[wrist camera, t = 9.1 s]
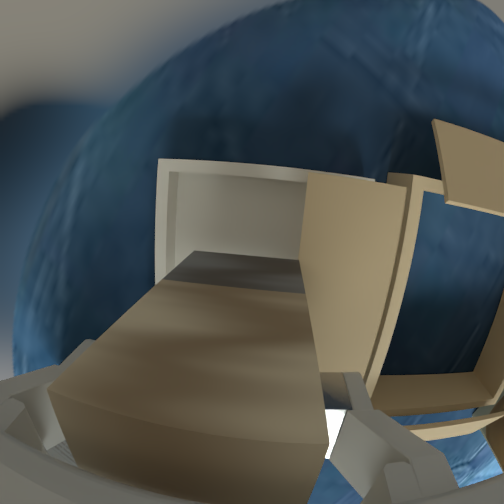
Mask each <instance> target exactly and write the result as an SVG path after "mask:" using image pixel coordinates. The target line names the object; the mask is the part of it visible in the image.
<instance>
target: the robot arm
mask: <svg viewBox="0 0 504 504" xmlns="http://www.w3.org/2000/svg"><path fill="white" fill-rule="evenodd" d="M95 341H96V340H92V339H85V340H84V341H83V342H82V343H81V344H80V345H79V346H78V347H77V348H76V349H75V350H74V351H73V352H72V353H71V354H70V355H69V356H68V357H67V358H66V359H65V360H64V361H63V362H62V363H61V364H60V365H59V366H57V365H52V366H49V367H46V368H42V369H39V370H36V371H32V372H29V373H26V374H22V375H19V376H15V377H12V378H9V379H6V380H2V381H0V504H208V503H202V502H196V501H190V500H185V499H180V498H176V497H171V496H167V495H162V494H158V493H154V492H150V491H146V490H143V489H139V488H136V487H132V486H129V485H126V484H122V483H119V482H116V481H113V480H110V479H107V478H104V477H101V476H99V475H96V474H93V473H90V472H88V471H85V470H83V469H80V468H78V467H75V466H73V465H70V464H68V463H66V462H63V461H61V460H59V459H57V458H54V457H52V456H50V455H49V454H48V452H47V451H46V450H48V449H50V448H52V447H53V446H55V445H57V444H59V443H61V442H62V441H64V440H65V437H64V435H63V433H62V430H61V428H60V425H59V423H58V420H57V417H56V415H55V412H54V409H53V407H52V404H51V401H50V398H49V395H48V392H47V388H48V387H49V386H50V385H51V384H52V383H53V382H54V381H55V380H56V379H57V378H58V377H59V376H60V375H61V374H62V373H63V372H64V371H65V370H66V369H67V368H68V367H69V366H70V365H71V364H72V363H73V362H74V361H75V360H76V359H77V358H78V357H79V356H80V355H81V354H82V353H83V352H84V351H85V350H86V349H87V348H88V347H90V346H91V345H92V344H93V343H94V342H95ZM320 379H321V385H322V391H323V398H324V404H325V411H326V418H327V425H328V432H329V439H330V446H329V449H328V451H327V454H326V457H325V458H329V460H330V461H331V462H332V463H333V465H334V466H335V467H336V468H337V469H338V470H339V472H340V473H341V474H342V475H343V476H344V477H345V478H346V480H347V481H348V482H349V483H350V484H351V485H352V486H353V488H354V489H355V490H356V491H357V492H358V493H359V494H360V495H361V497H362V498H363V500H362V502H361V503H360V504H504V473H503V474H500V475H497V476H495V477H492V478H489V479H487V480H484V481H481V482H478V483H475V484H472V485H469V486H465V487H462V488H459V487H458V484H457V482H456V480H455V477H454V475H453V473H452V471H451V468H450V466H449V464H448V462H447V460H446V457H445V455H444V453H442V452H440V451H439V450H437V449H436V448H434V447H433V446H431V445H430V444H428V443H427V442H425V441H424V440H422V439H421V438H419V437H418V436H416V435H415V434H414V433H412V432H411V431H409V430H408V429H406V428H405V427H403V426H402V425H400V424H399V423H398V422H396V421H395V420H393V419H392V418H390V417H389V416H387V415H386V414H385V413H383V412H382V411H380V410H374V408H373V406H372V403H371V400H370V397H369V394H368V392H367V389H366V386H365V384H364V381H363V378H362V376H361V373H359V372H320Z"/></svg>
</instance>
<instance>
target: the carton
mask: <svg viewBox="0 0 504 504" xmlns="http://www.w3.org/2000/svg"><path fill="white" fill-rule="evenodd" d="M431 123H432V128H433V132H434V137H435V142H436V147H437V152H438V158H439V164H440V170H441V176H442V181H441V180H436V179H432V178H428V177H423V176H418V175H413V174H403V173H392V172H388V175H387V183H386V184H385V183H379V182H373V181H367V180H361V179H355V178H348V177H342V176H335V175H327V174H320V173H312V172H308V180H307V189H306V198H305V207H304V216H303V224H302V232H301V240H300V248H299V256H298V260H299V263H300V268H301V273H302V278H303V283H304V288H305V293H306V298H307V304H308V309H309V315H310V320H311V326H312V331H313V337H314V343H315V348H316V354H317V360H318V366H319V372H359V373H361V376H362V378H363V381H364V384H365V386H366V389H367V392H368V394H369V397H370V400H371V403H372V406H373V408H374V410H380V411H382V412H383V413H385V414H386V415H387V416H389V417H390V416H407V415H420V414H431V413H440V412H449V411H457V410H464V409H470V408H477V407H483V406H488V405H494V404H496V402H497V400H498V398H499V397H500V395H501V393H502V391H503V389H504V290H503V294H502V297H501V300H500V303H499V306H498V309H497V312H496V315H495V318H494V321H493V324H492V327H491V329H490V332H489V335H488V337H487V340H486V342H485V345H484V347H483V350H482V352H481V355H480V357H479V359H478V362H477V364H476V366H475V368H474V371H473V372H463V373H448V374H426V375H380V372H381V369H382V366H383V363H384V360H385V357H386V354H387V351H388V348H389V345H390V341H391V338H392V335H393V332H394V328H395V325H396V321H397V318H398V314H399V311H400V307H401V303H402V299H403V295H404V291H405V287H406V283H407V279H408V275H409V270H410V266H411V261H412V256H413V251H414V246H415V241H416V236H417V230H418V224H419V218H420V212H421V205H422V199H423V191H429V192H433V193H438V194H443V195H444V198H445V203H446V204H451V205H456V206H461V207H465V208H470V209H474V210H478V211H483V212H487V213H491V214H495V215H499V216H503V217H504V142H501V141H499V140H496V139H494V138H491V137H489V136H486V135H483V134H480V133H478V132H475V131H472V130H469V129H466V128H463V127H460V126H457V125H454V124H451V123H447V122H444V121H441V120H437V119H433V121H432V122H431ZM503 416H504V411H502V412H497V413H492V414H488V415H483V416H477V417H472V418H466V419H460V420H453V421H446V422H438V423H430V424H420V425H409V426H403V427H405V428H406V429H408V430H409V431H411V432H412V433H414V434H415V435H416V436H418V437H419V438H421V439H422V440H424V441H428V440H435V439H442V438H448V437H454V436H460V435H465V434H470V433H473V432H475V431H477V430H479V429H481V428H483V427H484V426H486V425H488V424H490V423H492V422H494V421H496V420H497V419H499V418H501V417H503Z"/></svg>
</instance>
